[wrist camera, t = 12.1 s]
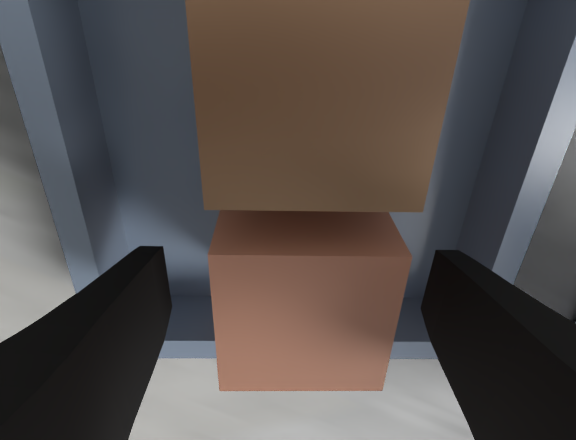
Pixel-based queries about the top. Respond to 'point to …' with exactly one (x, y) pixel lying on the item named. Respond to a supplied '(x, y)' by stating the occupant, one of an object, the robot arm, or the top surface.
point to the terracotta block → (305, 299)
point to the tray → (185, 153)
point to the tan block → (321, 100)
